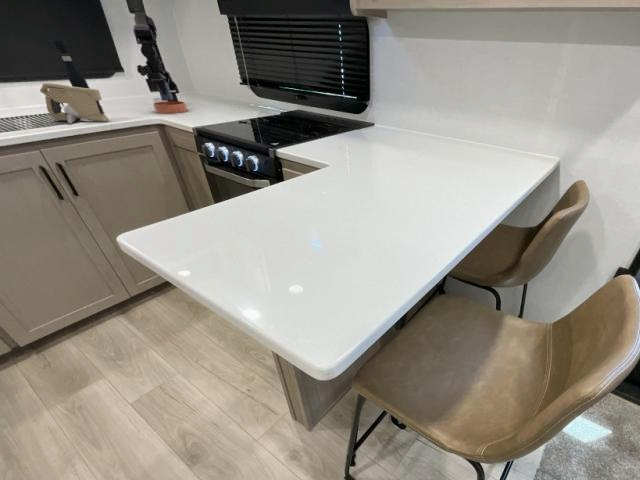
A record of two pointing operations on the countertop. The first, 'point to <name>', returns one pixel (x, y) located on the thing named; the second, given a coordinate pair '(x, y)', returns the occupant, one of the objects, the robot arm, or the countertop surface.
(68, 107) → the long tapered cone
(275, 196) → the countertop surface
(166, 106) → the bowl
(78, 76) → the wine bottle
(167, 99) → the block
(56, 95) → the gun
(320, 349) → the countertop surface
